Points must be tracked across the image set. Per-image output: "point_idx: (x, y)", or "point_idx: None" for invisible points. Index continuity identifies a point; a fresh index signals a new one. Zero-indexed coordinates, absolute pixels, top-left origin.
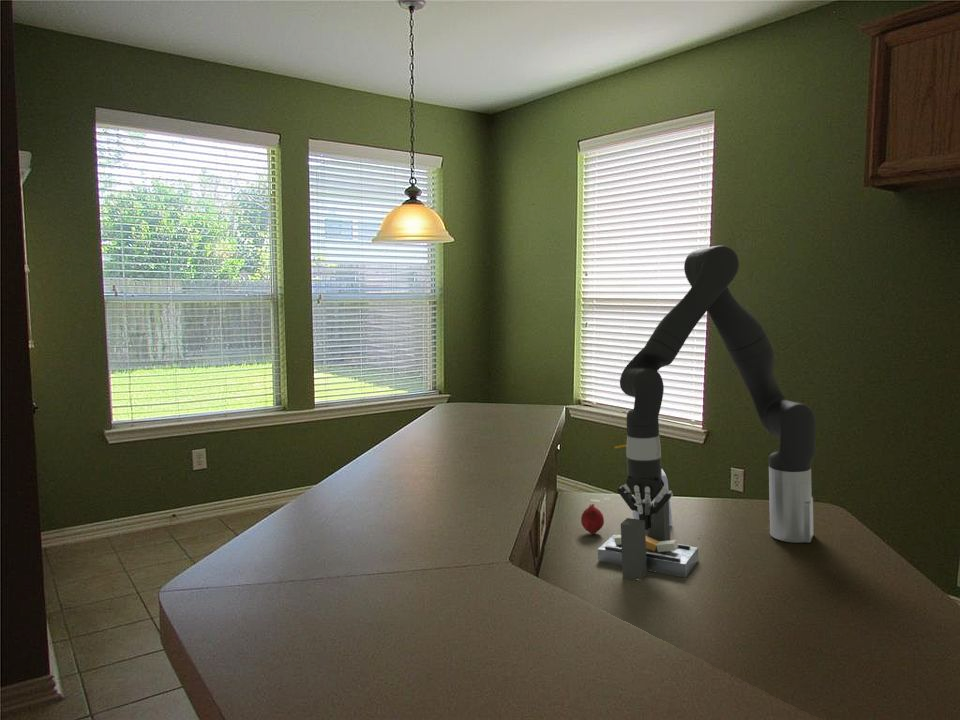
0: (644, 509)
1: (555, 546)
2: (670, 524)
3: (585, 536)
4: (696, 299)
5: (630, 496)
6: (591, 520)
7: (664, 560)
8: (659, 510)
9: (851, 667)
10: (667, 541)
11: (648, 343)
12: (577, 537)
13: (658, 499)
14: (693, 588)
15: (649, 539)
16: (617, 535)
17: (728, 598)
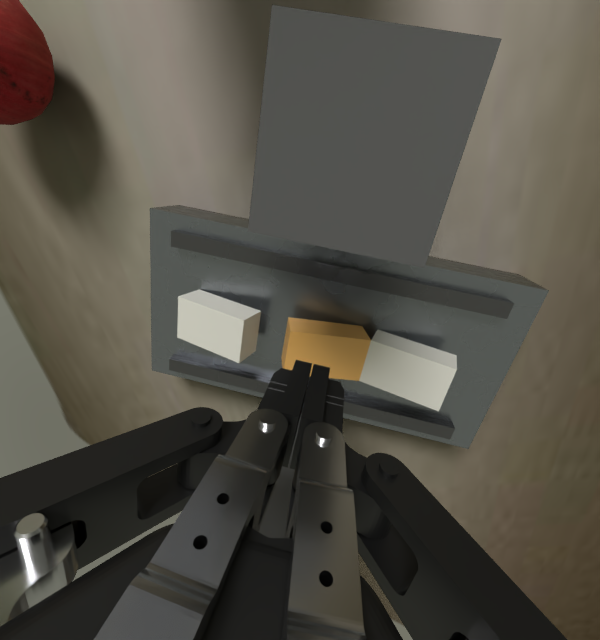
0: (278, 469)
1: (3, 256)
2: None
3: (34, 118)
4: None
5: (118, 508)
6: None
7: (393, 429)
8: (397, 538)
9: None
10: (410, 367)
11: None
12: (14, 141)
13: (366, 150)
14: (471, 471)
15: (326, 354)
16: (180, 305)
17: (565, 510)
